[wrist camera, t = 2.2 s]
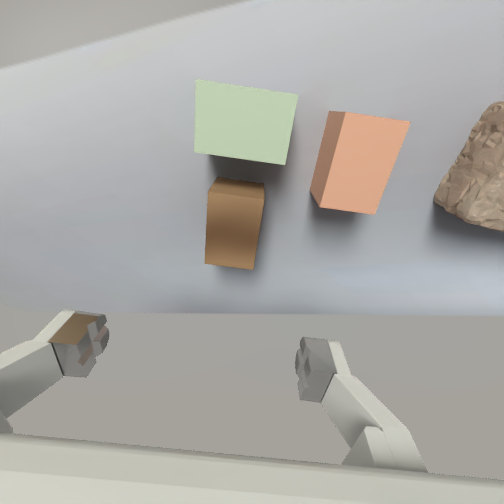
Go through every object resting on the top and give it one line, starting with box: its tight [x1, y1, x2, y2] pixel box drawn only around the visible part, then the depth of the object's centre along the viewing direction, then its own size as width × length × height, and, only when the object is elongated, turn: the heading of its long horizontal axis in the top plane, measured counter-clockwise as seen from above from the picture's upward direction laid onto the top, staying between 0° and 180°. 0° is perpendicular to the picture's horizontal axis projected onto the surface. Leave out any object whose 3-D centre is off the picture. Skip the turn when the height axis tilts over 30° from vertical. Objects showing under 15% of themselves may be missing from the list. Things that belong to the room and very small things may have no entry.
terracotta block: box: [310, 111, 411, 215], centre depth 19 cm, size 6×4×4 cm, turn 173°
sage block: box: [194, 79, 298, 165], centre depth 18 cm, size 6×4×4 cm, turn 83°
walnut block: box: [205, 177, 264, 270], centre depth 21 cm, size 6×4×4 cm, turn 173°
